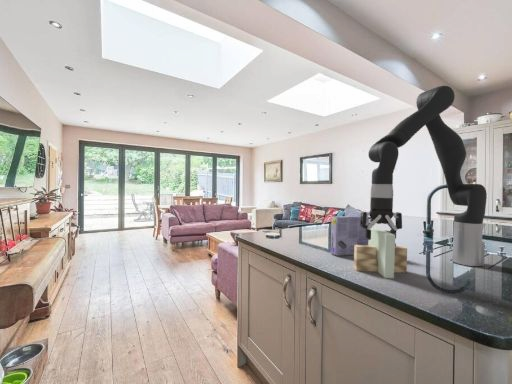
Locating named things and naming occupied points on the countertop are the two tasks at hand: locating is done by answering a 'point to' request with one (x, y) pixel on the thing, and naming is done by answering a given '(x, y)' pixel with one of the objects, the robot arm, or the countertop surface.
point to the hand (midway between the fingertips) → (380, 239)
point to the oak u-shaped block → (368, 261)
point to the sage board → (384, 251)
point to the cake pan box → (346, 234)
